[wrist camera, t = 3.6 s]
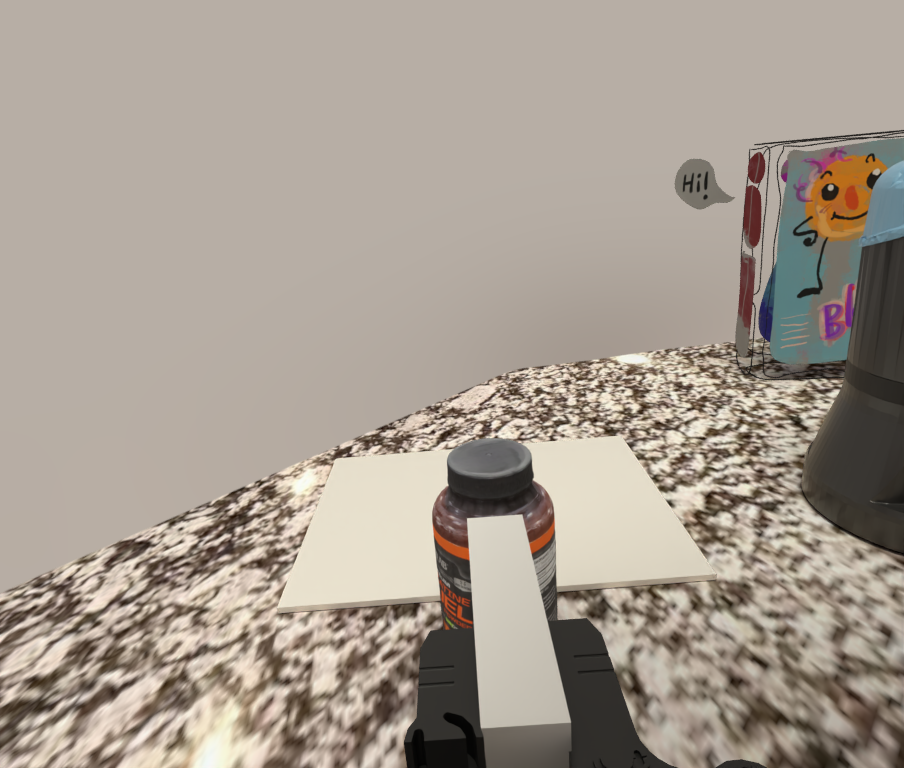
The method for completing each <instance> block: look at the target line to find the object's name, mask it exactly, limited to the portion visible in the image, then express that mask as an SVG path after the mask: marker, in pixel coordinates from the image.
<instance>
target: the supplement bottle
mask: <svg viewBox="0 0 904 768" xmlns="http://www.w3.org/2000/svg"><path fill="white" fill-rule="evenodd" d="M447 473H448V476H447V481H448V486H446V487H445V489H443V490H442V491H441V493H440V494H439V495H438V497H437V499H436V501H435V503H434V506H433V511H432V523H433V533H434V544H435V552H436V564H437V570H438V580H439V589H440V600H441V612H442V618H443V629H444V630H447V629H462V628H474V619H473V603H472V588H471V573H470V557H469V542H468V527H467V518H480V517H494V516H508V515H523V520H524V524H525V528H526V532H527V537H528V541H529V545H530V550H531V554H532V558H533V562H534V567H535V571H536V575H537V579H538V584H539V588H540V592H541V596H542V601H543V605H544V609H545V613H546V618H547V621H555V620H557V582H556V539H555V516H554V507H553V502H552V500H551V498H550V496H549V494H548V493H547V491H546V490H545V489H544V488H543V487H542V486H541V485H540V484H538V483H537V482H535V481H534V480H533V478H534V472H533V468H532V455H531V452H530V450H529V449H528V448H527V447H526V446H524V445H523V444H521V443H518V442H516V441H512V440H507V439H498V438H494V439H492V438H486V439H479V440H474V441H471V442H468V443H465V444H462V445H460V446H458V447H456V448H455V449H454V450H452V451H451V452H450V453H449V455H448V458H447Z"/></svg>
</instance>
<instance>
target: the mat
mask: <svg viewBox="0 0 904 768" xmlns="http://www.w3.org/2000/svg"><path fill="white" fill-rule="evenodd" d="M523 445H524V446H526V447H527V448H528V449H529V450H530V452H531V455H532V468H533V472H534V478H533V480H534V481H535V482H537V483H538V484H540V485H541V486H542V487H543V488H544V489H545V490H546V491H547V493H548V494H549V496H550V498H551V500H552V502H553V507H554V516H555V539H556V582H557V592H564V591H577V590H590V589H603V588H616V587H629V586H642V585H655V584H668V583H681V582H694V581H707V580H716V575H717V574H716V573H715V571H714V570H713V568H712V567H711V565H710V564H709V562H708V561H707V560H706V558H705V557H704V555H703V554H702V552H701V551H700V549H699V548H698V546H697V545H696V544H695V542H694V541H693V539H692V538H691V536H690V535H689V533H688V532H687V531H686V529H685V528H684V526H683V525H682V523H681V522H680V520H679V519H678V517H677V516H676V515H675V513H674V512H673V510H672V509H671V507H670V506H669V504H668V503H667V501H666V500H665V499H664V497H663V496H662V494H661V493H660V491H659V490H658V488H657V487H656V485H655V484H654V483H653V481H652V480H651V478H650V477H649V475H648V474H647V472H646V471H645V470H644V468H643V467H642V465H641V464H640V462H639V461H638V459H637V458H636V456H635V455H634V454H633V452H632V451H631V449H630V448H629V446H628V445H627V443H626V442H625V440H624V439H623V438H622V436H610V437H598V438H586V439H573V440H561V441H549V442H536V443H524V444H523ZM452 450H454V449H450V450H438V451H425V452H413V453H401V454H388V455H376V456H364V457H351V458H339V459H336V460H335V462H334V465H333V467H332V470H331V472H330V475H329V477H328V480H327V482H326V485H325V487H324V490H323V492H322V495H321V498H320V500H319V503H318V505H317V508H316V510H315V513H314V515H313V518H312V520H311V523H310V525H309V528H308V530H307V533H306V536H305V538H304V541H303V543H302V546H301V548H300V551H299V553H298V556H297V558H296V561H295V563H294V566H293V568H292V571H291V573H290V576H289V579H288V581H287V584H286V586H285V589H284V591H283V594H282V596H281V599H280V601H279V604H278V606H277V610H278V613H289V612H302V611H315V610H328V609H341V608H354V607H368V606H381V605H394V604H407V603H420V602H433V601H441V600H440V589H439V580H438V570H437V564H436V552H435V544H434V533H433V523H432V511H433V506H434V503H435V501H436V499H437V497H438V495H439V494H440V493H441V491H442V490H443V489H445V487H446V486H448V481H447V476H448V473H447V458H448V455H449V453H450V452H451V451H452Z"/></svg>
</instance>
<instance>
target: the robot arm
mask: <svg viewBox="0 0 904 768" xmlns="http://www.w3.org/2000/svg"><path fill="white" fill-rule="evenodd" d="M859 246H861V247H862V251H861V258H860V266H859V274H858V281H857V289H856V296H855V304H854V311H853V319H852V325H851V332H850V338H849V345H848V352H847V359H846V366H845V375H844V381H843V385H842V388H841V390H840V392H839V394H838V396H837V397H836V399H835V401H834V403H833V405H832V407H831V408H830V410H829V412H828V414H827V416H826V418H825V420H824V422H823V423H822V425H821V427H820V429H819V432H818V434H817V436H816V438H815V440H814V441H813V442H812V443H811V445H810V446H809V447H808V449H807V451H806V454H805V458H804V465H803V473H802V482H801V485H802V490H803V492H804V495H805V496H806V498H807V499H808V501H809V502H810V503H811V504H812V505H813V506H814V507H815V508H816V509H817V510H818V511H819V512H820V513H821V514H823V515H824V516H825V517H827V518H828V519H829V520H831V521H832V522H834V523H835V524H837V525H839V526H840V527H842V528H844V529H846V530H848V531H849V532H851V533H853V534H855V535H857V536H860V537H862V538H864V539H866V540H869V541H871V542H873V543H876V544H878V545H881V546H884V547H886V548H889V549H892V550H895V551H898V552H901V553H904V161H901V162H899V163H897V164H895V165H893V166H891V167H890V168H889V169H887V170H886V171H885V172H884V173H883V174H882V175H881V176H880V177H879V178H878V180H877V181H876V183H875V185H874V187H873V190H872V194H871V199H870V204H869V209H868V213H867V218H866V223H865V228H864V233H863V235H862V236H861V237H860V239H859ZM467 527H468V542H469V557H470V573H471V588H472V603H473V619H474V628H462V629H447V630H433V631H430V633H429V634H428V636H427V638H426V639H425V641H424V643H423V645H422V646H421V648H420V666H419V669H420V672H419V688H418V703H417V718H416V719H415V721H414V722H413V723H412V724H411V726H410V727H409V728H408V730H407V734H406V737H405V740H404V747H405V754H406V761H407V768H677V767H674V766H671V765H669V764H667V763H665V762H663V761H662V760H660V759H658V758H657V757H656V756H654V755H653V754H652V753H651V752H650V751H649V750H648V749H647V748H646V747H645V746H644V745H643V743H642V742H641V741H640V739H639V737H638V735H637V733H636V731H635V728H634V725H633V722H632V719H631V717H630V714H629V711H628V708H627V705H626V702H625V699H624V697H623V694H622V691H621V688H620V685H619V682H618V679H617V677H616V674H615V673H614V668H613V665H612V662H611V659H610V657H609V655H608V651H607V648H606V645H605V642H604V639H603V637H602V634H601V633H600V632H599V631H598V630H597V629H596V628H595V627H594V626H593V624H592V623H591V622H590V621H589V620H588V619H587V618H583V619H569V620H555V621H547V618H546V613H545V609H544V605H543V601H542V596H541V592H540V588H539V584H538V579H537V575H536V571H535V567H534V562H533V558H532V554H531V550H530V545H529V541H528V537H527V532H526V528H525V524H524V520H523V515H508V516H494V517H480V518H467ZM716 768H766V767H765V766H763V765H761V764H759V763H755V762H751V761H746V760H742V759H741V760H731V761H726V762H724V763H722V764H721V765H719V766H717V767H716Z"/></svg>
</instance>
